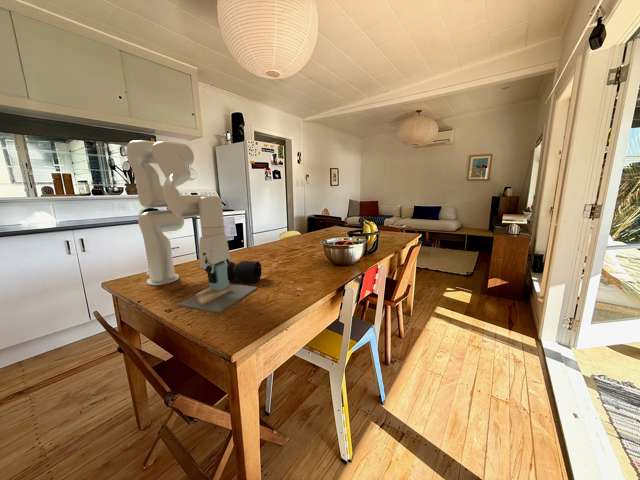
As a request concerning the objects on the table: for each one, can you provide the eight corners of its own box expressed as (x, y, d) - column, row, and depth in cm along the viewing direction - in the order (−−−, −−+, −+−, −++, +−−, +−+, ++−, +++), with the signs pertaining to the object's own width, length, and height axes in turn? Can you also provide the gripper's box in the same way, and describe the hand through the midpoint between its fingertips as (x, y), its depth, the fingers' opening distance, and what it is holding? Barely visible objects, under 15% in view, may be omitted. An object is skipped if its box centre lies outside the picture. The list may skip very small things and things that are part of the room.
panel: (178, 305, 90) (178, 304, 90) (222, 283, 110) (222, 282, 110) (219, 313, 83) (219, 311, 83) (257, 288, 104) (257, 287, 103)
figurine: (264, 263, 117) (223, 263, 119) (257, 259, 108) (213, 258, 110) (262, 284, 114) (220, 283, 116) (254, 281, 105) (209, 280, 108)
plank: (197, 304, 89) (196, 293, 88) (225, 289, 102) (224, 280, 101) (203, 305, 88) (201, 294, 87) (230, 290, 101) (229, 280, 100)
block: (209, 288, 92) (207, 265, 90) (218, 284, 96) (216, 261, 94) (219, 290, 91) (217, 266, 89) (228, 286, 95) (226, 263, 93)
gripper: (221, 227, 98) (226, 272, 102) (185, 235, 83) (191, 287, 86) (237, 228, 96) (241, 273, 99) (202, 236, 80) (209, 290, 84)
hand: (218, 279), depth 93 cm, fingers open, 4 cm apart
